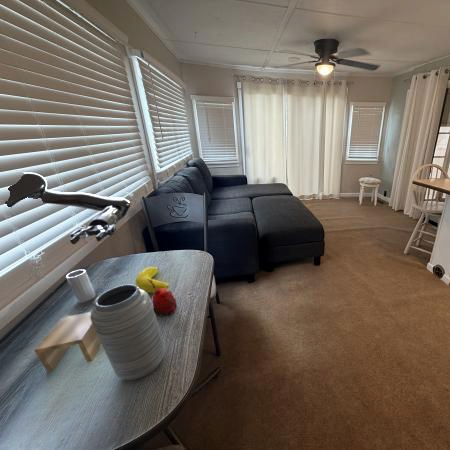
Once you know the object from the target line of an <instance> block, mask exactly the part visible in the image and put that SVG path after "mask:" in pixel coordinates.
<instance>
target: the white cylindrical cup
mask: <svg viewBox="0 0 450 450" xmlns="http://www.w3.org/2000/svg"><path fill="white" fill-rule="evenodd" d="M65 278H66V280H67V283H68V285H69V287H70V289H71V291H72V293H73V295H74V298H75V300H76V302H77V303H80V304H81V303H86V302H88V301H91V300H93V299H94V298H95V297H96V292H95V289H94V286H93V284H92V281H91V280H90V277H89V275H88V272H87V270H86V269H77V270H73V271H70V272H68V273H67V274H66V275H65Z"/></svg>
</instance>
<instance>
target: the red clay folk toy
mask: <svg viewBox="0 0 450 450" xmlns="http://www.w3.org/2000/svg"><path fill="white" fill-rule="evenodd" d="M151 279H154V278H153V277H152V278H151ZM148 281H150V282H151V284H152V286H153V288H154V289H155V290H156V292H155V293H153V294H152V297H151V300H152V301H151V303H152V307H153V310H154V313H155V316H156V317H157V316H158V317H164V316H169V315H171V314H173V313H175V312H176V311H177V308H178V304H177V300H176V298H175V297H174V295H173V293H172V291H171V290H168V288H167V289H165V288H162V289H161V288H158V289H156V288H155V284H153V282H152V280H149V279H148ZM150 282H149V283H150ZM149 283H148V284H149Z"/></svg>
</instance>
